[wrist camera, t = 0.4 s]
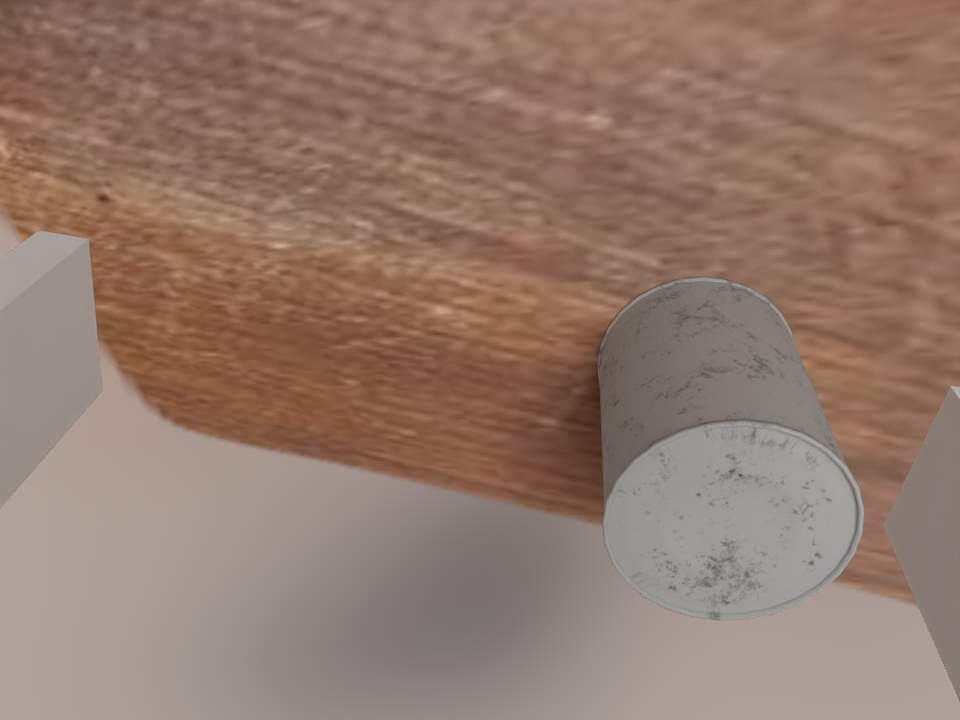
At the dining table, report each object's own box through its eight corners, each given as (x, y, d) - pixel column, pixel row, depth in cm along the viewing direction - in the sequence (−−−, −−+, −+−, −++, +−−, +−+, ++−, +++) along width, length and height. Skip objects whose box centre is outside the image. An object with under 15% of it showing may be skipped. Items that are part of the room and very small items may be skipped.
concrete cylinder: (558, 375, 45) (551, 537, 35) (689, 237, 41) (727, 374, 30) (698, 474, 47) (733, 655, 37) (837, 353, 43) (922, 518, 33)
